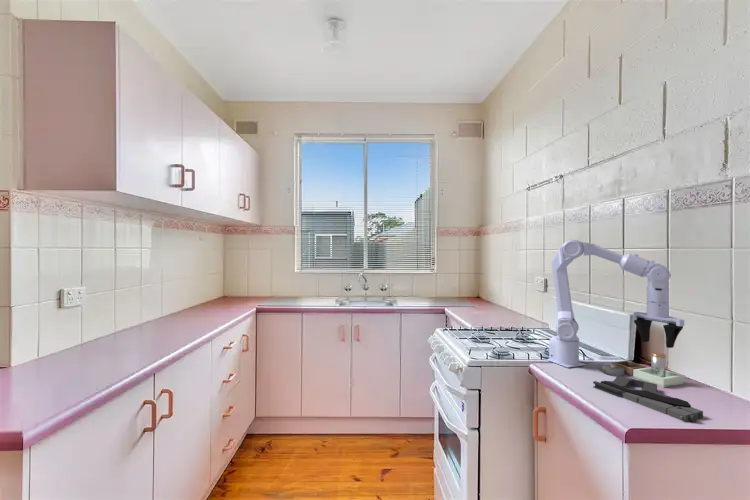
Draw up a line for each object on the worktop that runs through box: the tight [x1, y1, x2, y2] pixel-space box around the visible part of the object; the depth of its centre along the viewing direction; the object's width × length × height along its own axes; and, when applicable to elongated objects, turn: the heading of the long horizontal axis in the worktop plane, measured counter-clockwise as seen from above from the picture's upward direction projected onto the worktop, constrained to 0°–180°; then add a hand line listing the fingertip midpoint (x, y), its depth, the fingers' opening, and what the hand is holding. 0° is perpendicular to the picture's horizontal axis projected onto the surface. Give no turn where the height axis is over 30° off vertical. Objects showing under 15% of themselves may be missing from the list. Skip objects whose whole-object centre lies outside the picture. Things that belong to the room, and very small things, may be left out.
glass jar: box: [650, 352, 667, 378], centre depth 118 cm, size 4×4×8 cm
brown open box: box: [602, 360, 648, 377], centre depth 126 cm, size 7×14×3 cm, turn 109°
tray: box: [632, 366, 685, 388], centre depth 118 cm, size 9×9×2 cm
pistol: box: [592, 376, 704, 423], centre depth 104 cm, size 2×26×15 cm
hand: (657, 344), depth 121 cm, fingers open, 7 cm apart
